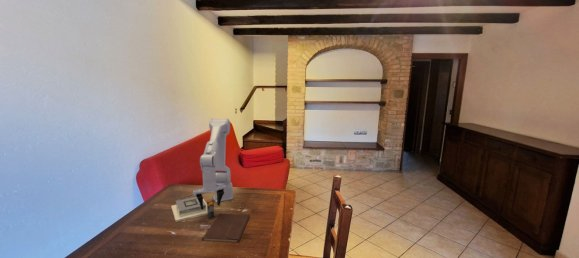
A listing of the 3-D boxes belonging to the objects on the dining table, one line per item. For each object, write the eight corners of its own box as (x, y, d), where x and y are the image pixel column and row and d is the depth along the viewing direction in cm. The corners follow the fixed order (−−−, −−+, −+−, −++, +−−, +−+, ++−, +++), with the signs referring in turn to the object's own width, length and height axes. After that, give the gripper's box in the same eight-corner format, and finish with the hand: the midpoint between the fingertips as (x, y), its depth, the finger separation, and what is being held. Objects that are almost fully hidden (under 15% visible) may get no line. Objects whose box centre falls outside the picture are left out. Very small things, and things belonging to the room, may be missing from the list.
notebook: (202, 241, 102) (201, 236, 102) (218, 216, 122) (218, 212, 121) (238, 243, 101) (238, 238, 101) (249, 217, 121) (249, 214, 120)
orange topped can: (213, 214, 122) (212, 199, 121) (214, 217, 120) (214, 201, 118) (206, 216, 121) (206, 200, 119) (208, 219, 118) (207, 203, 117)
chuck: (200, 201, 134) (200, 195, 133) (206, 210, 124) (205, 204, 123) (176, 206, 128) (175, 200, 127) (179, 217, 118) (179, 210, 117)
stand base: (203, 200, 137) (203, 198, 137) (211, 213, 123) (211, 211, 123) (171, 207, 129) (171, 205, 128) (175, 222, 115) (175, 220, 115)
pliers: (173, 202, 133) (189, 187, 153) (173, 204, 133) (189, 188, 153) (191, 203, 133) (205, 187, 152) (192, 204, 133) (205, 189, 152)
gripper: (194, 185, 110) (196, 214, 112) (227, 179, 117) (228, 206, 120) (191, 180, 116) (193, 207, 118) (222, 174, 123) (223, 200, 126)
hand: (210, 206), depth 119 cm, fingers open, 7 cm apart
